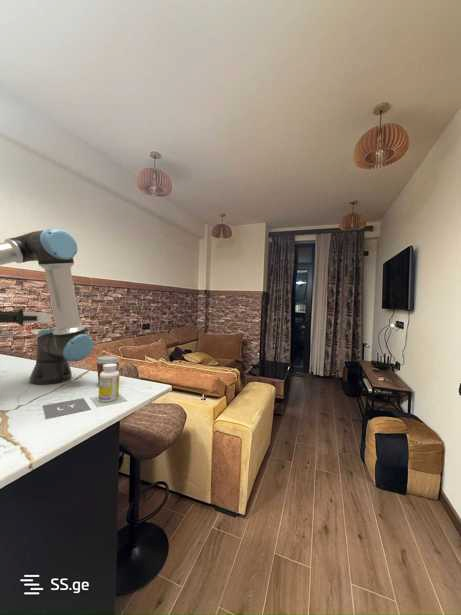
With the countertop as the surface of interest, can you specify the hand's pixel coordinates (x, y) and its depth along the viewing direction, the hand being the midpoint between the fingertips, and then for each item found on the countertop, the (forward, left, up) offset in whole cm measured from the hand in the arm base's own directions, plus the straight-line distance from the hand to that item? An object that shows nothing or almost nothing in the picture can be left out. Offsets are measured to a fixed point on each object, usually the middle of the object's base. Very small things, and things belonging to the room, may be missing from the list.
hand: (48, 317), depth 83 cm
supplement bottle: (+8, +19, -30) cm, 36 cm away
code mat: (+8, +6, -30) cm, 32 cm away
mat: (+8, +19, -30) cm, 36 cm away
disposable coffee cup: (-10, +23, -30) cm, 39 cm away
